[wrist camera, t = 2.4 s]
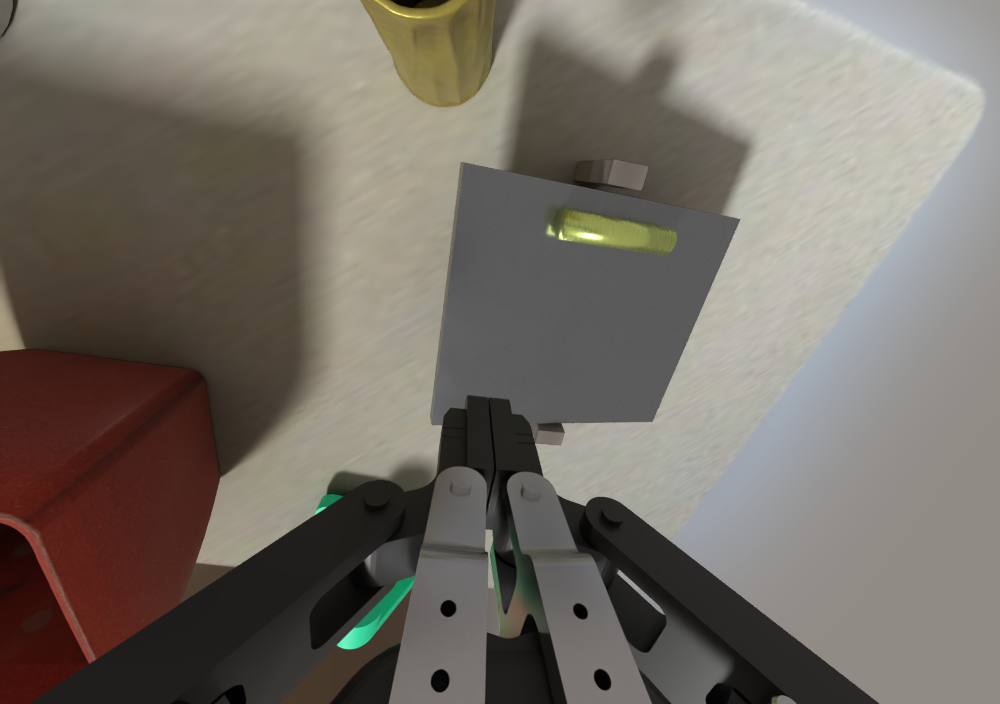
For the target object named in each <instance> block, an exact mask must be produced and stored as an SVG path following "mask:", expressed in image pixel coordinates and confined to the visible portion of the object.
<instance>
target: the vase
mask: <svg viewBox="0 0 1000 704" xmlns="http://www.w3.org/2000/svg"><path fill="white" fill-rule="evenodd" d="M360 1H361V3H362V4H363V6H364V7H365V9H366V11H367V12H368V14H369V16H370V17H371V19H372V21H373V23H374V25H375V27H376V29H377V31H378V33H379V34H380V36H381V38H382V40H383V42H384V44H385V45H386V47H387V49H388V50H389V52H390V54H391V55H392V58H393V62H394V65H395V68H396V71H397V73H398V75H399V77H400V78H401V80H402V81H403V83H404V84H405V86H406V87H407V88H408V89H409V90H410V92H411V93H412V94H413V95H415V96H416V97H417V98H419V99H420V100H422V101H424V102H426V103H428V104H430V105H433V106H437V107H450V106H457V105H461V104H463V103H465V102H466V101H468V100H469V99H470V98H472V97H473V96H474V95H475V94H476V93H477V92H478V91H479V90H480V88H481V87H482V85H483V83H484V82H485V80H486V78H487V75H488V73H489V70H490V67H491V60H492V37H493V22H494V13H495V0H360Z"/></svg>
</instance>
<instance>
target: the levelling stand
mask: <svg viewBox="0 0 1000 704" xmlns="http://www.w3.org/2000/svg"><path fill="white" fill-rule="evenodd" d="M648 168H649V167H648V166H644V165H639V164H634V163H630V162H625V161H621V160H616V159H609V160H593V161H578V165H577V169H576V173H575V178H574V180H576V181H581V182H586V183H591V184H596V185H601V186H609V187H617V188H625V189H633V190H642V187H643V184H644V181H645V178H646V175H647V171H648ZM531 428H532V432H533V436H534V440H535V443H538V444H549V445H560V446H561V444H562V440H563V437H564V434H565V432H564V429H563V427H562V424H561V423H537V424H531Z"/></svg>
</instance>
